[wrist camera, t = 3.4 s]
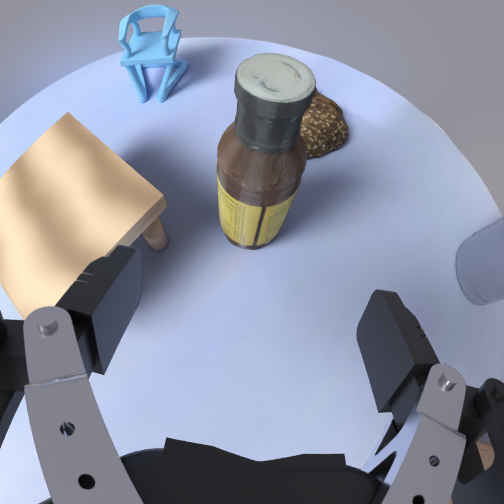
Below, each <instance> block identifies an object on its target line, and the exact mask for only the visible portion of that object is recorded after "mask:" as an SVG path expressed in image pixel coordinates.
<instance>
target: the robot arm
mask: <svg viewBox="0 0 504 504" xmlns="http://www.w3.org/2000/svg"><path fill="white" fill-rule="evenodd" d="M141 257H142V256H141V250H140V249H139V248H135V247H129V246H124V245H118V246H117V247H116V248H115V249H114V250H113V251H112V252H111V254H110V255H109V256H108V257H103V256H102V257H100V258H98V259H96V260H94V261H93V262H91V263H90V264H89V265H88V266H87V267H86V268H85V269H84V271H83V272H82V274H80V275H79V276H78V278H77V279H76V281H74V282H73V284H72V285H71V286H70V287H69V288H68V290H67V291H66V292H65V293H64V295H63V296H62V297H61V298H60V300H59V301H58V302H57V303H56V305H55V306H46V307H41V308H39V309H36V310H34V311H33V312H31V313H30V314H29V315H28V316H27V318H26V319H25V320H8V319H3V317H2V314H1V311H0V448H1V445H2V443H3V440H4V438H5V436H6V433H7V431H8V428H9V426H10V424H11V422H12V419H13V417H14V415H15V413H16V411H17V408H18V406H19V404H20V402H21V400H22V398H23V396H24V394H25V399H26V405H27V411H28V416H29V421H30V425H31V430H32V434H33V439H34V443H35V447H36V450H37V454H38V458H39V461H40V465H41V468H42V471H43V475H44V478H45V481H46V484H47V487H48V490H49V493H50V495H51V497H50V498H49V499H47V500H45V501H43V502H41V503H39V504H448V503H449V500H450V497H451V499H452V504H504V383H502V382H501V381H499V380H497V379H494V378H489V379H487V380H486V381H485V382H484V384H483V385H482V386H481V387H480V388H479V389H478V388H475V387H471V386H467V385H466V384H465V381H464V379H463V377H462V376H461V374H460V373H459V372H458V371H457V370H456V369H454V368H453V367H451V366H449V365H446V364H440V362H439V360H438V358H437V356H436V354H435V352H434V350H433V348H432V346H431V344H430V343H429V341H428V339H427V337H425V336H426V335H425V333H424V331H423V329H421V326H420V324H419V322H418V320H417V319H416V317H415V316H414V315H413V314H412V313H411V312H410V311H409V310H408V309H407V308H406V307H405V306H404V304H403V303H402V301H401V299H400V297H399V296H398V294H397V293H396V292H391V291H384V290H375V291H374V292H373V294H372V296H371V298H370V300H369V302H368V305H367V307H366V309H365V311H364V313H363V315H362V317H361V320H360V322H359V324H358V328H357V341H358V345H359V348H360V351H361V354H362V357H363V361H364V364H365V367H366V371H367V374H368V377H369V381H370V384H371V388H372V391H373V395H374V398H375V402H376V406H377V409H378V413H382V412H392V415H393V417H392V418H391V419H390V420H389V422H388V423H387V425H386V427H385V429H384V431H383V433H382V435H381V437H380V439H379V441H378V443H377V444H376V446H375V448H374V450H373V452H372V453H371V455H370V457H369V459H368V460H367V462H366V463H365V464H364V466H363V467H362V468H361V469H358V468H355V467H351V466H348V465H346V461H345V455H344V454H301V455H296V456H291V457H286V458H280V459H275V460H268V461H254V460H251V459H248V458H245V457H242V456H239V455H236V454H233V453H230V452H227V451H224V450H222V449H219V448H216V447H214V446H209V445H203V444H197V443H192V442H186V441H181V440H176V439H171V438H167V437H166V442H165V446H164V448H154V449H145V450H140V451H135V452H132V453H129V454H126V455H124V456H122V457H119V455H118V453H117V451H116V449H115V447H114V444H113V442H112V440H111V437H110V435H109V433H108V430H107V428H106V426H105V423H104V421H103V418H102V416H101V413H100V410H99V408H98V405H97V402H96V400H95V397H94V394H93V391H92V388H91V385H90V382H89V377H90V375H91V373H92V372H95V373H98V374H102V375H104V374H105V372H106V370H107V368H108V365H109V363H110V361H111V359H112V357H113V355H114V353H115V351H116V348H117V346H118V344H119V342H120V340H121V338H122V336H123V334H124V332H125V330H126V328H127V326H128V324H129V322H130V320H131V318H132V316H133V314H134V312H135V310H136V308H137V306H138V304H139V301H140V297H141V291H142V268H141ZM456 270H457V276H458V280H459V283H460V286H461V288H462V290H463V292H464V294H465V295H466V296H467V297H468V299H470V300H471V301H472V302H473V303H475V304H478V305H483V304H488V303H492V302H496V301H499V300H504V217H503V218H501V219H500V220H498V221H496V222H494V223H492V224H491V225H489V226H487V227H485V228H483V229H482V230H480V231H478V232H476V233H474V234H473V237H471V238H469V239H467V240H466V241H464V242H463V243H462V244H461V246H460V248H459V250H458V253H457V258H456ZM486 432H487V433H488V436H489V439H490V442H491V445H492V447H493V450H494V461H493V463H492V465H491V466H490V467H489V468H488V469H486V470H484V466H483V463H482V460H481V456H480V453H479V450H478V447H477V444H476V441H477V440H478V439H479V438H480V437H481V436H483V435H484V434H485V433H486Z"/></svg>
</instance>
